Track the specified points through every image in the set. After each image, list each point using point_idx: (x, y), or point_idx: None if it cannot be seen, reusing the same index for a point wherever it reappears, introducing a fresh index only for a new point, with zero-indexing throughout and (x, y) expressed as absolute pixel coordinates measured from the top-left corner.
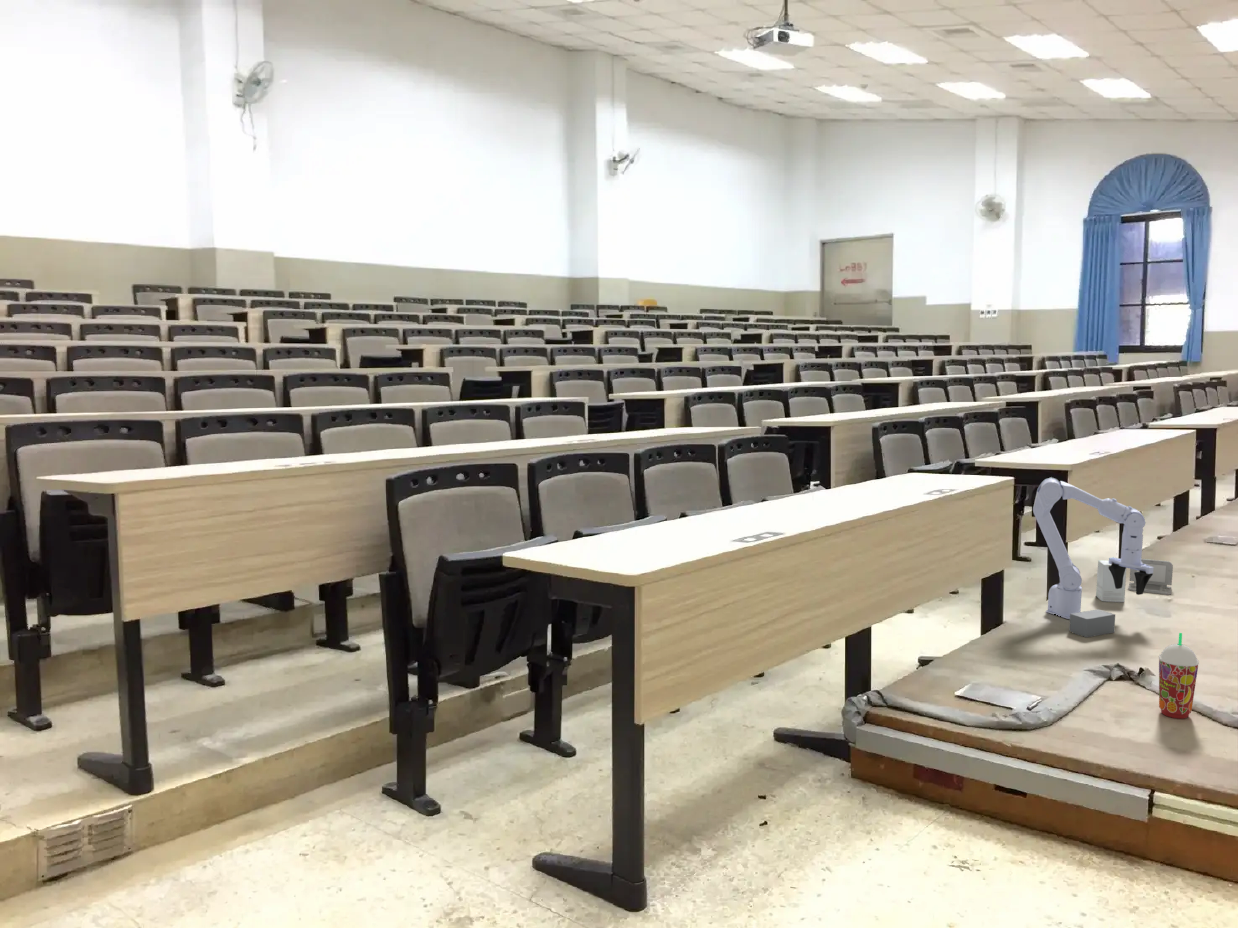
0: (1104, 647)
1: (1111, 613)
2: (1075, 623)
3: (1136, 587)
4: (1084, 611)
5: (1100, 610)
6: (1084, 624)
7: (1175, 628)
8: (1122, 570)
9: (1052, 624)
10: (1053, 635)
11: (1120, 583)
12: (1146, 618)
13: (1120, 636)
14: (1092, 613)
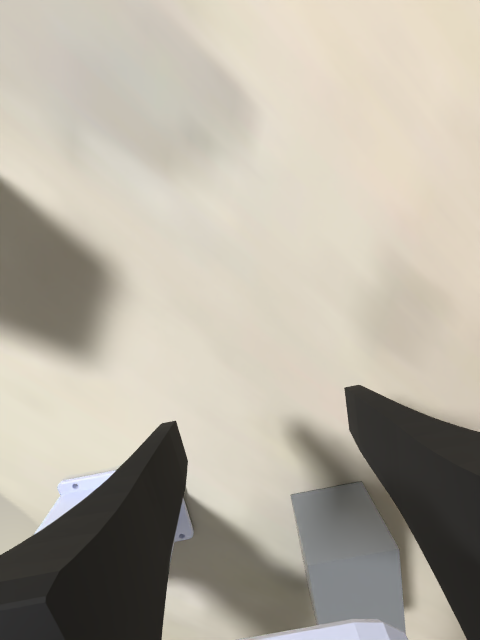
0: None
1: (382, 554)
2: None
3: (384, 480)
4: (319, 623)
5: (328, 568)
6: None
7: (405, 226)
8: (116, 575)
9: (228, 593)
10: None
11: (169, 460)
12: (242, 242)
13: None
14: (353, 612)
